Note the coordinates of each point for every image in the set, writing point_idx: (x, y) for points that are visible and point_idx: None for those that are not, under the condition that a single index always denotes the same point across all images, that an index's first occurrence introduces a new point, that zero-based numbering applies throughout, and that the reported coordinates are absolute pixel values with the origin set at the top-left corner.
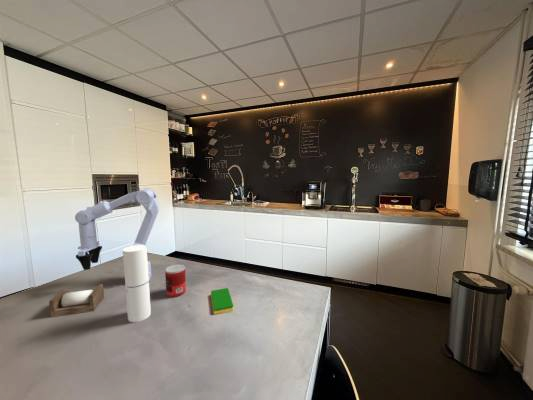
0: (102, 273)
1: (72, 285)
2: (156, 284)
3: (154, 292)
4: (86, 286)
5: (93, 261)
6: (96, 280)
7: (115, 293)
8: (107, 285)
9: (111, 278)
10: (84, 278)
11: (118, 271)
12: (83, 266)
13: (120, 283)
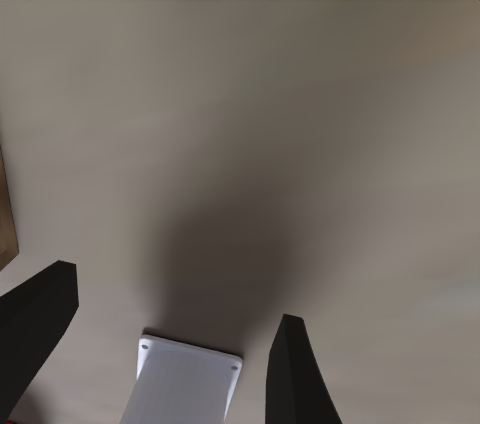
0: (472, 220)
1: (329, 13)
2: (106, 414)
3: (32, 399)
4: (234, 141)
5: (279, 343)
6: (325, 193)
7: None
8: (185, 260)
9: (300, 276)
10: (458, 91)
11: (419, 311)
12: (20, 295)
13: (183, 314)
